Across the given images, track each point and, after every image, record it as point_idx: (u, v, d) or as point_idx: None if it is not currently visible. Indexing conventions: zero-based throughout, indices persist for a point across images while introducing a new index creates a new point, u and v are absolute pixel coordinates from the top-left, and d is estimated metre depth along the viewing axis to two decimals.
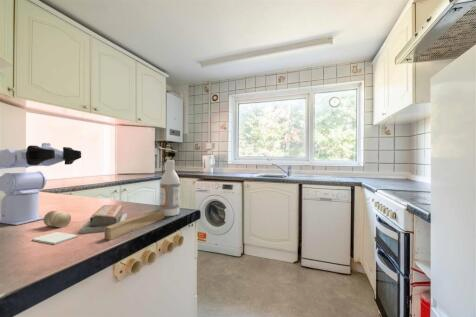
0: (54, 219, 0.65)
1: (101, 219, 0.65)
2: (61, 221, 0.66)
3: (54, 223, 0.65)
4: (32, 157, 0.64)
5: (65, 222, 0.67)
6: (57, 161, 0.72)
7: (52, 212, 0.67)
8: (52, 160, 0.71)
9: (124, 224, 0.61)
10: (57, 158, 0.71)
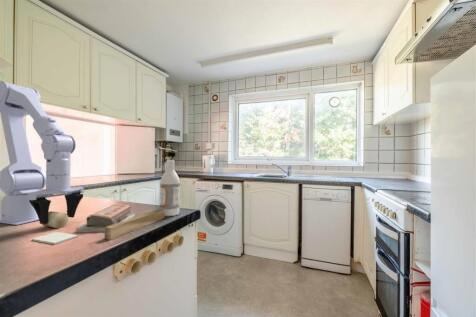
0: (53, 226, 0.65)
1: (97, 219, 0.65)
2: (60, 222, 0.66)
3: None
4: None
5: (64, 219, 0.67)
6: None
7: None
8: None
9: (124, 224, 0.61)
10: None
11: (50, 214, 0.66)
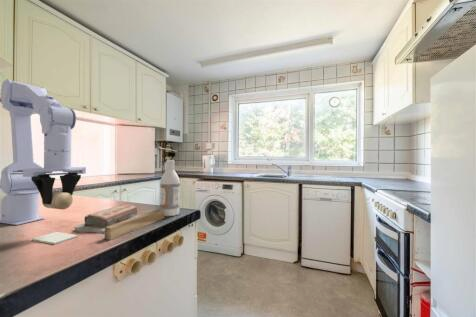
0: (54, 204, 0.58)
1: (93, 219, 0.65)
2: (63, 203, 0.60)
3: (57, 207, 0.59)
4: None
5: (68, 202, 0.61)
6: None
7: None
8: None
9: (124, 224, 0.61)
10: (65, 171, 0.64)
11: (56, 192, 0.60)
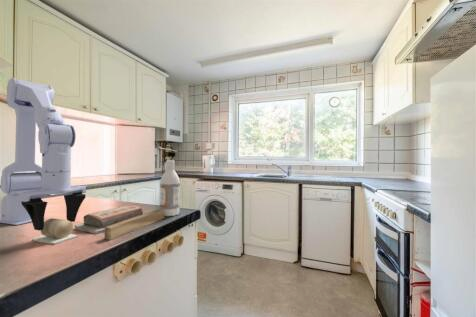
0: (53, 232, 0.55)
1: (91, 219, 0.65)
2: (62, 231, 0.57)
3: (55, 236, 0.55)
4: None
5: (67, 230, 0.58)
6: None
7: (47, 223, 0.56)
8: None
9: (124, 224, 0.61)
10: None
11: (56, 219, 0.57)
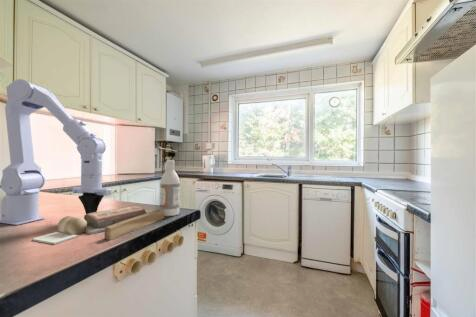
0: (79, 218, 0.61)
1: (89, 219, 0.65)
2: (77, 225, 0.60)
3: (75, 219, 0.60)
4: None
5: (76, 230, 0.60)
6: None
7: None
8: None
9: (124, 224, 0.61)
10: None
11: None
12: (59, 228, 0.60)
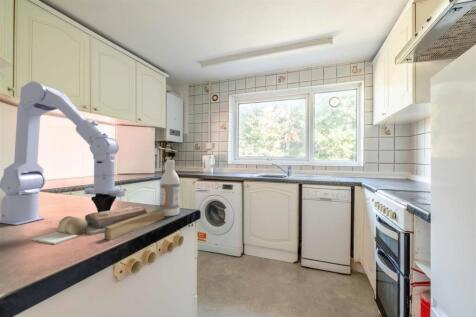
0: (80, 218, 0.61)
1: (90, 219, 0.65)
2: (77, 225, 0.60)
3: (76, 219, 0.60)
4: None
5: (76, 230, 0.60)
6: None
7: None
8: None
9: (124, 224, 0.61)
10: None
11: None
12: (59, 227, 0.60)
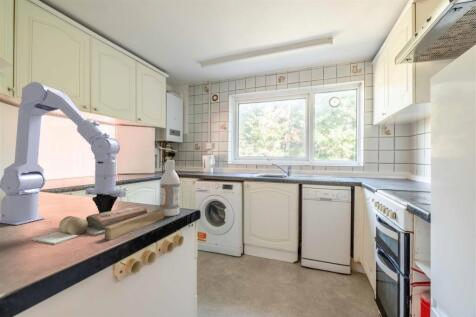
0: (80, 218, 0.61)
1: (92, 220, 0.64)
2: (78, 225, 0.60)
3: (76, 219, 0.60)
4: None
5: (75, 230, 0.60)
6: None
7: None
8: None
9: (124, 224, 0.61)
10: None
11: None
12: (60, 227, 0.60)
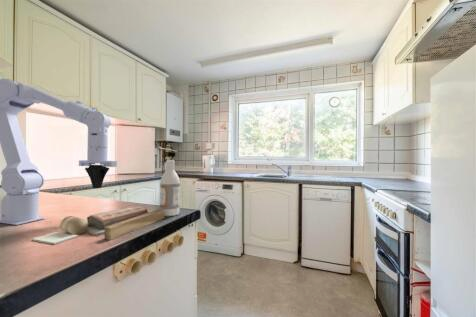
0: (81, 218, 0.61)
1: (93, 220, 0.64)
2: (78, 224, 0.60)
3: (77, 218, 0.60)
4: None
5: (75, 229, 0.60)
6: None
7: None
8: None
9: (124, 224, 0.61)
10: None
11: None
12: (61, 226, 0.61)
